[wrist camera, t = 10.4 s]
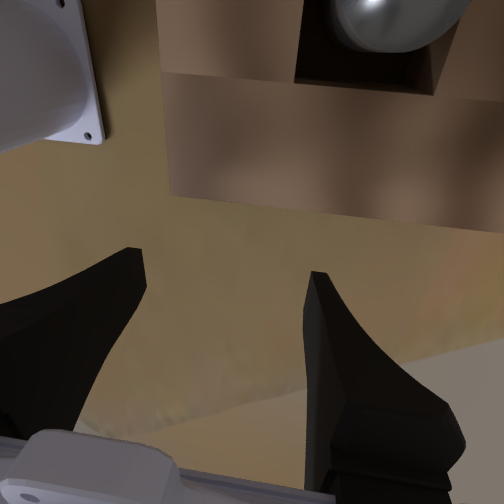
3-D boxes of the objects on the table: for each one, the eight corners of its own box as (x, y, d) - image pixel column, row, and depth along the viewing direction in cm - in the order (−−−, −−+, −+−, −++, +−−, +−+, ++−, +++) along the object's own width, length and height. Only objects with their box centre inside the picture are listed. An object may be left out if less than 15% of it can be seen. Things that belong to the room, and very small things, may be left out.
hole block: (194, 167, 22) (170, 195, 18) (180, -302, 12) (117, -488, 8) (465, 196, 21) (508, 234, 16) (696, -296, 11) (945, -511, 7)
